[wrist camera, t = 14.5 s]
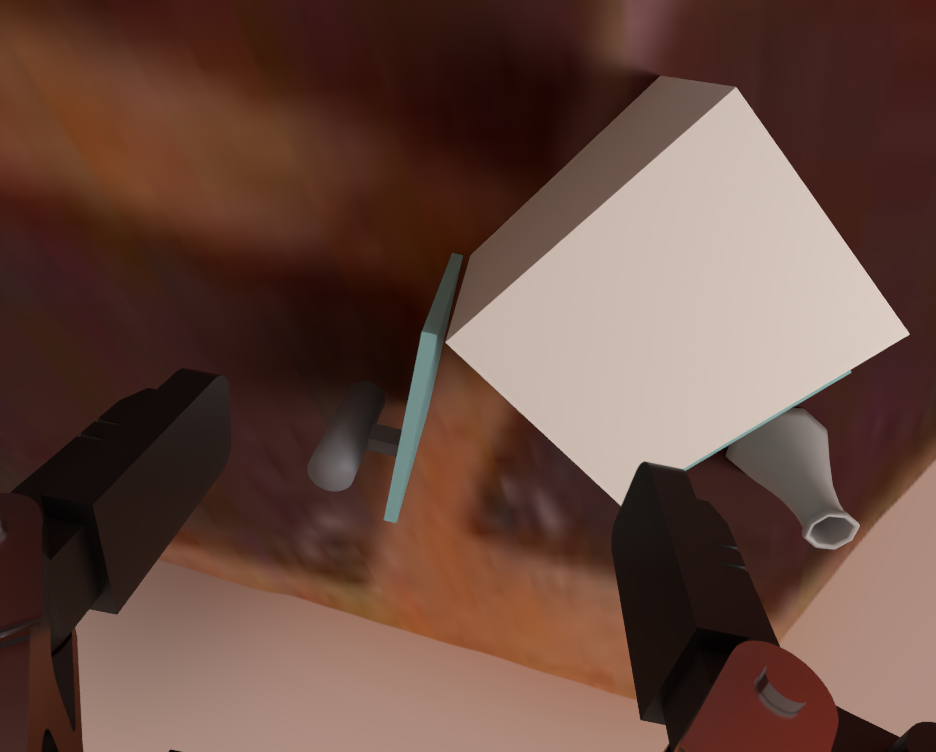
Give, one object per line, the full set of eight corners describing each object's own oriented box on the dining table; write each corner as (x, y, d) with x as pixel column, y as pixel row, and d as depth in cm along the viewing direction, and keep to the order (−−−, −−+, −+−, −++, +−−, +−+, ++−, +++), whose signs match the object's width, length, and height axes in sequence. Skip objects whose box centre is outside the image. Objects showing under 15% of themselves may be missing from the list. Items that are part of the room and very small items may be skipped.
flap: (353, 392, 46) (297, 501, 35) (375, 233, 39) (314, 305, 28) (428, 410, 46) (396, 524, 35) (463, 255, 39) (437, 335, 28)
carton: (601, 388, 44) (629, 513, 32) (470, 255, 40) (445, 342, 28) (792, 252, 38) (917, 345, 26) (660, 75, 33) (735, 86, 21)
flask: (784, 487, 47) (841, 583, 39) (708, 458, 47) (749, 549, 38) (842, 422, 44) (920, 513, 35) (761, 390, 43) (820, 474, 34)
